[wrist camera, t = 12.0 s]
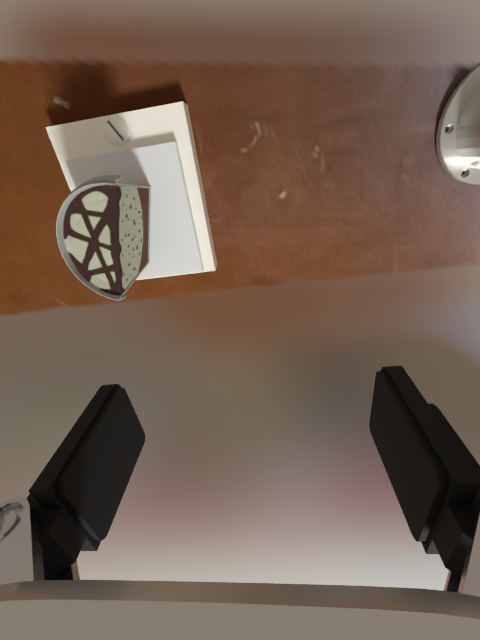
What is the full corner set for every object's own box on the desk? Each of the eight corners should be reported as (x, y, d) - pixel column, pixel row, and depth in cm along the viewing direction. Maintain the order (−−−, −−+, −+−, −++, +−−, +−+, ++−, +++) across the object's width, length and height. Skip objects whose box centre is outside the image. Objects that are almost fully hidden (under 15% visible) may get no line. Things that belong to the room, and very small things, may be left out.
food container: (97, 161, 32) (38, 162, 23) (151, 172, 32) (112, 176, 24) (104, 264, 38) (59, 295, 29) (149, 272, 38) (118, 305, 30)
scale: (187, 105, 32) (180, 99, 29) (217, 265, 41) (214, 273, 38) (58, 129, 34) (38, 126, 31) (114, 277, 43) (103, 286, 40)
